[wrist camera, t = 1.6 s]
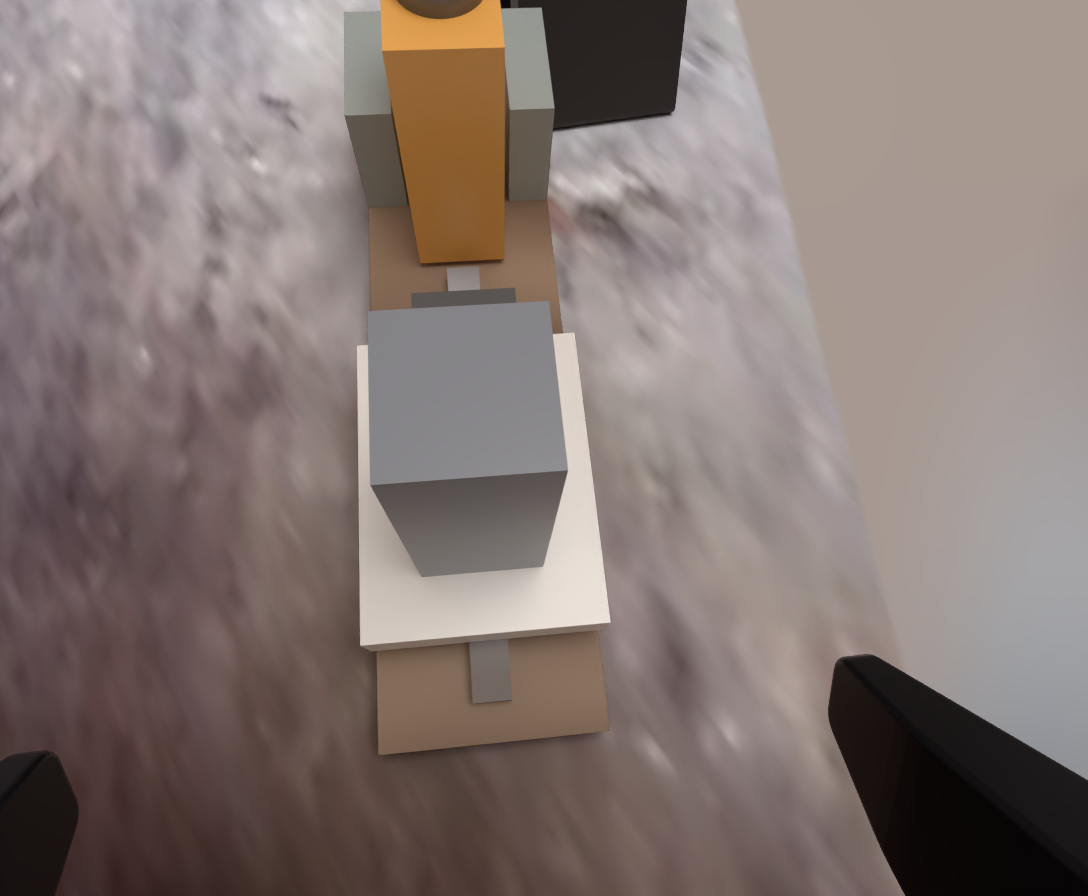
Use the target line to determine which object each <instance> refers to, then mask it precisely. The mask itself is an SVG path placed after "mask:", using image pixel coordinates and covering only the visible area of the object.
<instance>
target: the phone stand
mask: <svg viewBox="0 0 1088 896" xmlns="http://www.w3.org/2000/svg"><path fill="white" fill-rule="evenodd" d="M500 5H501V9H504V8H542V15H543V23H544V30H545V38H546V46H547V54H548V61H549V69H550V77H551V84H552V92H553V100H554V107H555V109H554V121H553V128H558V127H565V126H573V125H580V124H587V123H595V122H602V121H609V120H617V119H624V118H631V117H639V116H646V115H653V114H661V113H668V112H673V111H674V109H675V104H676V95H677V86H678V77H679V68H680V60H681V51H682V42H683V33H684V24H685V15H686V6H687V0H500Z"/></svg>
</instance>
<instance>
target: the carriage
mask: <svg viewBox="0 0 1088 896" xmlns="http://www.w3.org/2000/svg"><path fill="white" fill-rule="evenodd" d="M411 305H412V309H395V310H378V311H367V328H368V345H362V346H357V379H358V474H359V570H360V646H362V647H364V648H365V649H367V650H369V651H381V650H392V649H402V648H413V647H424V646H435V645H445V644H456V643H467V642H477V641H488V640H499V639H509V638H520V637H531V636H542V635H552V634H563V633H574V632H584V631H595V630H603V629H604V628H605V627H606V626H607V625H608V624H609V623H610V615H609V607H608V599H607V591H606V583H605V575H604V567H603V559H602V551H601V543H600V535H599V527H598V519H597V511H596V503H595V495H594V487H593V479H592V471H591V463H590V455H589V447H588V439H587V431H586V423H585V415H584V407H583V399H582V391H581V383H580V375H579V367H578V359H577V351H576V343H575V335H574V333H563V334H553V332H552V323H551V314H550V306H549V301H538V302H520V303H516V294H515V288H497V289H479V290H460V291H442V292H423V293H411Z"/></svg>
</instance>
